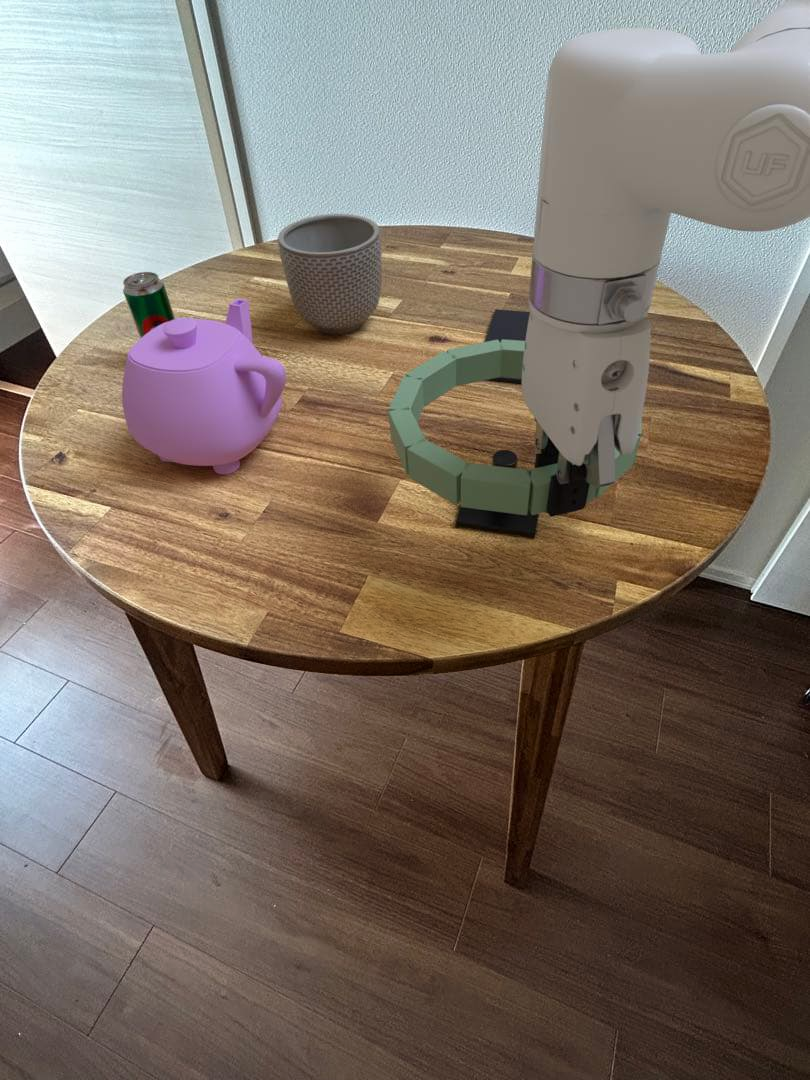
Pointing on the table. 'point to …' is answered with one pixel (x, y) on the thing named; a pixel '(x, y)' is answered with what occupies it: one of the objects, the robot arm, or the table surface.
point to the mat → (508, 331)
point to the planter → (333, 269)
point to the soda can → (147, 301)
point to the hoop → (452, 473)
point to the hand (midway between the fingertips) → (558, 498)
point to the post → (499, 520)
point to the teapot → (202, 391)
